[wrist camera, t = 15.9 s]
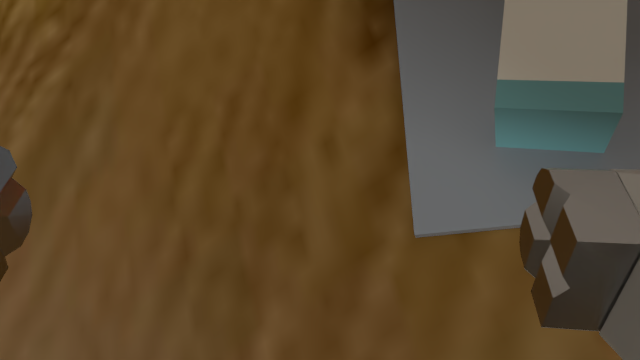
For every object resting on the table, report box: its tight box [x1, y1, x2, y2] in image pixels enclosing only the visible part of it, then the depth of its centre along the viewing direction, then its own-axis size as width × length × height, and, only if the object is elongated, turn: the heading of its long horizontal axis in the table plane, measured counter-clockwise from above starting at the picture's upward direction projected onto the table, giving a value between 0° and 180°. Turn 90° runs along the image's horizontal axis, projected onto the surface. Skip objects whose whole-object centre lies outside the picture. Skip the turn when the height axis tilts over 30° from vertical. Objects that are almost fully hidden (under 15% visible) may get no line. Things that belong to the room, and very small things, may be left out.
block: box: [494, 0, 627, 153], centre depth 25 cm, size 4×4×8 cm
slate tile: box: [394, 0, 640, 238], centre depth 28 cm, size 15×14×1 cm
